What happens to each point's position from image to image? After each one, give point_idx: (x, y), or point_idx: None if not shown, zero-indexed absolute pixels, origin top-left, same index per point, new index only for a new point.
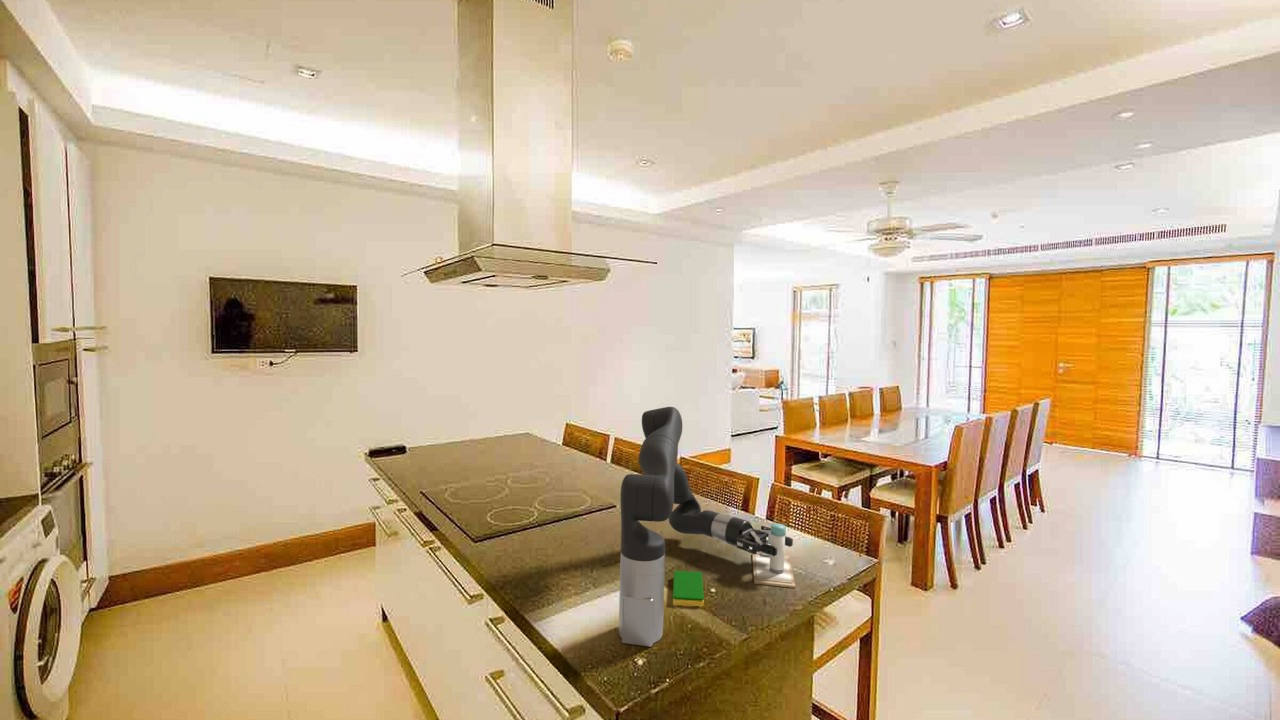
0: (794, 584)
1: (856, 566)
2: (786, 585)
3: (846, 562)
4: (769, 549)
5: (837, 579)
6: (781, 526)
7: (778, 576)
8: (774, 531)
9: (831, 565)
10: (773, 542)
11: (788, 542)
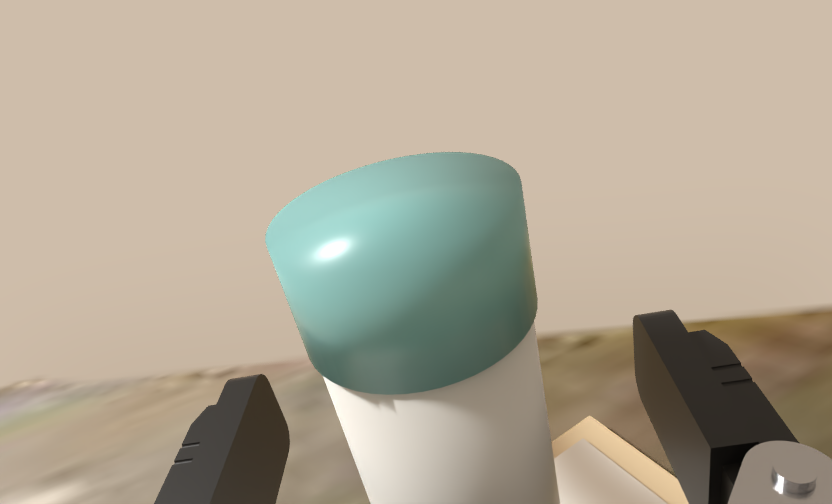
0: (579, 426)
1: (61, 403)
2: (639, 456)
3: (14, 452)
4: (733, 363)
5: (284, 375)
6: (371, 189)
7: None
8: (528, 238)
9: (93, 477)
10: (543, 398)
11: (269, 433)
